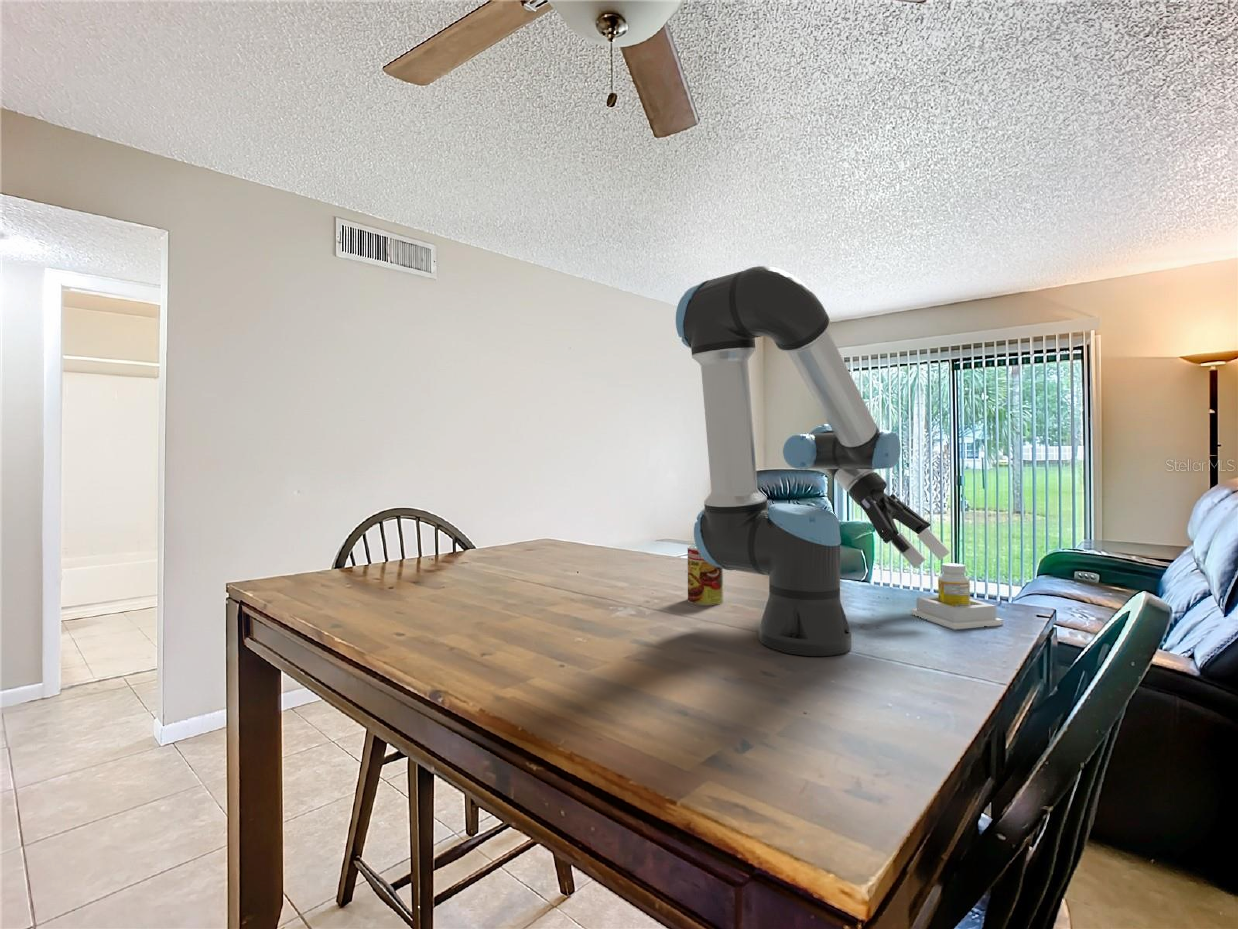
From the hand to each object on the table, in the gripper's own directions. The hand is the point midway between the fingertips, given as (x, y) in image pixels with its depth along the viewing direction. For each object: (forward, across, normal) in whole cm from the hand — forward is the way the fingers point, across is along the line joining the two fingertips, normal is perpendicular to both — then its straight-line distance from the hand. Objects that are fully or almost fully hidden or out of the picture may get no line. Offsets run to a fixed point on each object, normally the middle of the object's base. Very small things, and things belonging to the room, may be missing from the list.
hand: (933, 559), depth 117 cm
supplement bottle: (+10, +1, -4) cm, 11 cm away
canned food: (-19, +24, -36) cm, 47 cm away
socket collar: (+11, +1, -5) cm, 12 cm away
